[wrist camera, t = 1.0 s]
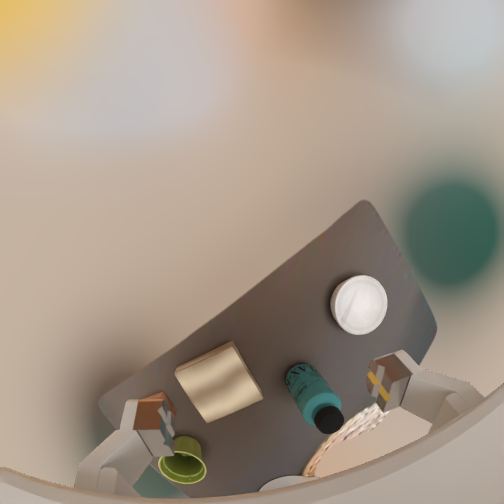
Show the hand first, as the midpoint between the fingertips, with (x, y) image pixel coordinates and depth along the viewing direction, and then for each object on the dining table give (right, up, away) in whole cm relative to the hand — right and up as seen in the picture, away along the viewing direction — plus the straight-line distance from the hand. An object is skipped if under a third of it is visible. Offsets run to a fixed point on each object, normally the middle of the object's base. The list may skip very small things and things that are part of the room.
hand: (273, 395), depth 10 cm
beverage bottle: (+8, -19, +43) cm, 48 cm away
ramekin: (+19, -5, +45) cm, 49 cm away
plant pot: (-15, -36, +41) cm, 56 cm away
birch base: (-7, -19, +42) cm, 46 cm away
